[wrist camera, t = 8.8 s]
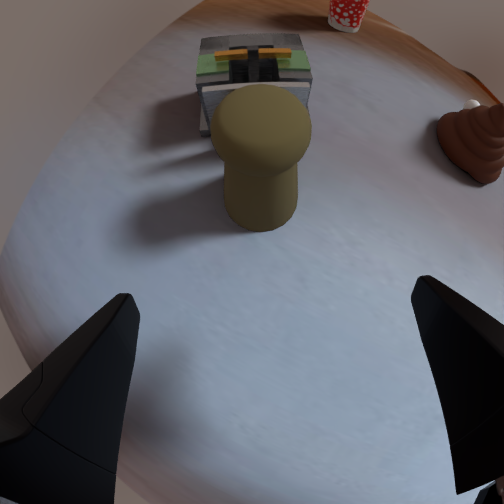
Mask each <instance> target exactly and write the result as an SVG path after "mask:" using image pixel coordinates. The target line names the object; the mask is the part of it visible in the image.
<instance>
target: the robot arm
mask: <svg viewBox="0 0 504 504" xmlns="http://www.w3.org/2000/svg"><path fill="white" fill-rule="evenodd" d="M411 303H412V307H413V310H414V314H415V317H416V321H417V325H418V329H419V333H420V336H421V340H422V343H423V346H424V349H425V352H426V355H427V358H428V361H429V365H430V368H431V371H432V374H433V378H434V381H435V384H436V388H437V392H438V395H439V399H440V403H441V407H442V411H443V415H444V419H445V424H446V429H447V433H448V438H449V444H450V450H451V456H452V462H453V470H454V478H455V487H456V494H457V495H458V494H461V493H464V492H467V491H469V490H472V489H475V488H477V487H480V486H482V485H484V484H487V483H489V482H491V481H493V480H495V481H494V482H492V483H491V484H489V485H488V486H486V487H485V488H483V489H482V490H480V492H479V494H478V496H477V498H476V500H475V502H474V504H504V325H503V324H502V323H500V322H499V321H497V320H496V319H495V318H493V317H492V316H490V315H489V314H488V313H486V312H485V311H483V310H482V309H481V308H479V307H478V306H476V305H475V304H473V303H472V302H470V301H469V300H467V299H466V298H464V297H463V296H461V295H460V294H458V293H457V292H455V291H454V290H452V289H451V288H449V287H448V286H446V285H445V284H443V283H442V282H440V281H438V280H437V279H435V278H434V277H432V276H430V275H425V276H420V277H419V278H418V279H417V281H416V284H415V287H414V289H413V292H412V295H411ZM139 323H140V313H139V310H138V308H137V306H136V303H135V301H134V299H133V296H132V295H131V294H129V293H119V294H117V295H116V296H115V297H114V298H112V299H111V300H110V301H109V302H108V303H107V304H105V305H104V306H103V307H102V308H101V309H100V310H98V311H97V312H96V313H95V314H94V315H93V316H92V317H90V318H89V319H88V320H87V321H86V322H85V323H84V324H82V325H81V326H80V327H79V328H78V329H77V330H76V331H75V332H74V333H72V334H71V335H70V336H69V337H68V338H67V339H66V340H65V341H64V342H63V343H61V344H60V345H59V346H58V347H57V348H56V349H55V350H54V351H53V352H52V353H51V354H50V355H49V356H47V357H46V358H45V359H44V361H43V362H41V363H40V364H39V365H38V366H37V367H36V368H35V369H34V370H33V371H32V372H31V373H30V374H28V375H27V376H26V377H25V378H24V379H23V380H22V381H21V382H20V383H19V384H17V385H16V386H15V387H14V388H13V389H12V390H10V391H9V392H8V393H7V394H6V395H4V396H3V397H2V398H1V399H0V504H114V493H115V482H116V470H117V461H118V453H119V445H120V438H121V431H122V425H123V419H124V413H125V407H126V402H127V396H128V391H129V386H130V381H131V376H132V372H133V367H134V362H135V355H136V346H137V338H138V330H139Z"/></svg>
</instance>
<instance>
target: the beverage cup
mask: <svg viewBox="0 0 504 504" xmlns="http://www.w3.org/2000/svg"><path fill="white" fill-rule="evenodd" d="M369 1H370V0H330V7H329V16H328V23H329V24H330V26H332V27H333V28H335V29H338V30H340V31H344V32H350V33H353V32H357V31H358V29H359V27H360V24H361V22H362V19H363V17H364V14H365V12H366V9H367V6H368V4H369Z"/></svg>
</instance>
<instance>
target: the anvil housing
mask: <svg viewBox="0 0 504 504" xmlns="http://www.w3.org/2000/svg"><path fill="white" fill-rule="evenodd" d="M247 46H258V49H260V48H291V52H292V54H291V58H260V59H259V82H309V84H310V89H311V84H312V79H313V78H312V75H311V71H310V70H311V68H310V65H309V62H308V58H307V55H306V52H305V51H304V49H303V45H302V42H301V39H300V36H299V34H243V35H229V36H218V37H210V38H202V39H201V46H200V53H199V56H198V63H197V71H196V75H197V77H196V87H197V90H198V94H199V98H200V101H201V116H200V133H201V136H202V137H204V136H211V130H210V121H209V117H208V113H207V110H206V106H205V102H204V98H203V94H202V87H207V86H216V85H226V84H239V83H249V72H248V59H240V60H227V61H217V62H215V57H214V55H215V52H216V51H227V50H239V49H247ZM309 94H310V91H309ZM308 99H309V96H308ZM307 103H308V101H307ZM306 109H307V111H308V114H309V110H308V106H306ZM309 117H310V115H309ZM311 126H312V125H311Z"/></svg>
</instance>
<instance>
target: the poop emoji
mask: <svg viewBox="0 0 504 504" xmlns="http://www.w3.org/2000/svg"><path fill="white" fill-rule="evenodd" d="M437 135H438V139H439V142H440V145H441V147H442V149H443V150H444V152H445V153H446V155H447V156H448V157H449V159H450V160H451V161H452V162H453V163H454V164H456V165H457V166H458V167H460V168H461V169H463V170H465V171H467V172H469V173H470V175H471V176H472V177H473V178H474V179H476V180H477V181H479V182H481V183H484V184H489V183H492V182H494V181H496V180H497V179H498V177H499V176H500V174H501V170H502V168H503V167H504V104H503V103H501V104H498V105H494V106H492V107H490V108H489V107H486V106H483V105H480V104H479V103H478V102H477V101H475V100H468V101H467V102H466V103H465V104H464V107H463V110H461V111H459V112H450V113H447V114H445V115H443V116H442V117H441V118H440V120H439V121H438V124H437Z"/></svg>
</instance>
